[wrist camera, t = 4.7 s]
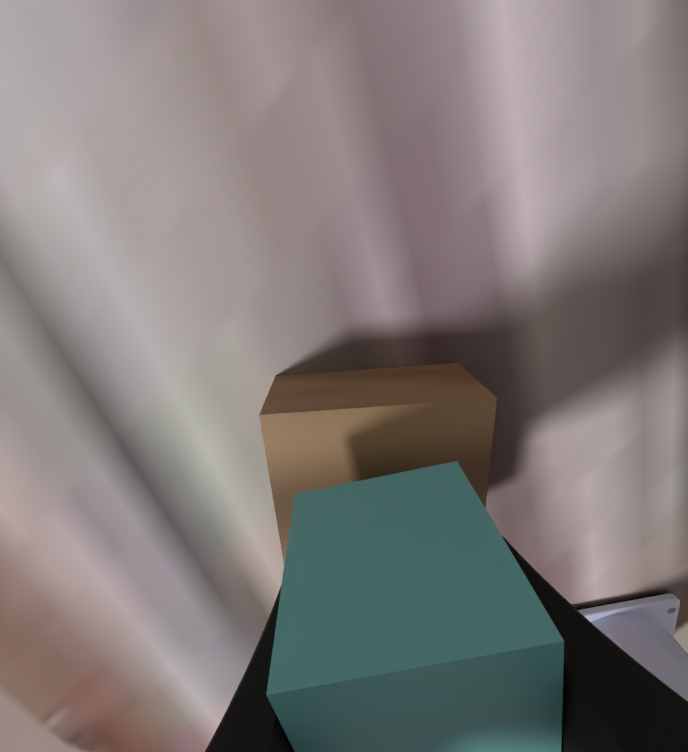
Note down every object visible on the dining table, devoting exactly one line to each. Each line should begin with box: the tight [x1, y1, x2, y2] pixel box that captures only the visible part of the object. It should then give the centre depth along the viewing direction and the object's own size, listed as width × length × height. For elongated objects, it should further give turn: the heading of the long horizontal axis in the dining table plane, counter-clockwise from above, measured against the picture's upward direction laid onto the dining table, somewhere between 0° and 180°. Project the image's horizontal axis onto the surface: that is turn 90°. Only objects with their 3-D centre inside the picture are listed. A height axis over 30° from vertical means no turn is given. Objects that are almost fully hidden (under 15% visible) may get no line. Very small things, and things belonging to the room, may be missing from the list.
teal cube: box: [266, 461, 564, 752], centre depth 9 cm, size 5×5×5 cm
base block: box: [259, 363, 497, 565], centre depth 15 cm, size 8×8×4 cm
